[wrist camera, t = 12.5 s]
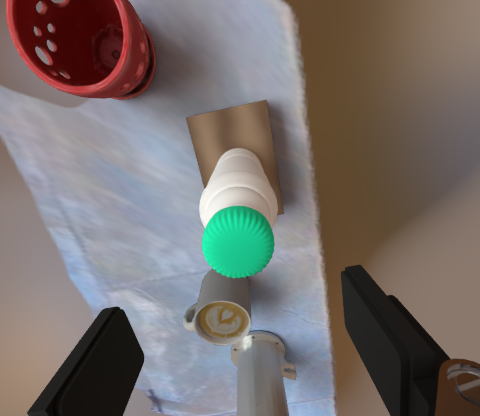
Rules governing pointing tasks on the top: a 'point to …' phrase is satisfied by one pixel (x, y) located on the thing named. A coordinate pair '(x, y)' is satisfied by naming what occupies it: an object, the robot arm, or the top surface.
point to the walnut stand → (235, 139)
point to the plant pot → (85, 46)
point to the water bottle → (238, 215)
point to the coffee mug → (221, 310)
